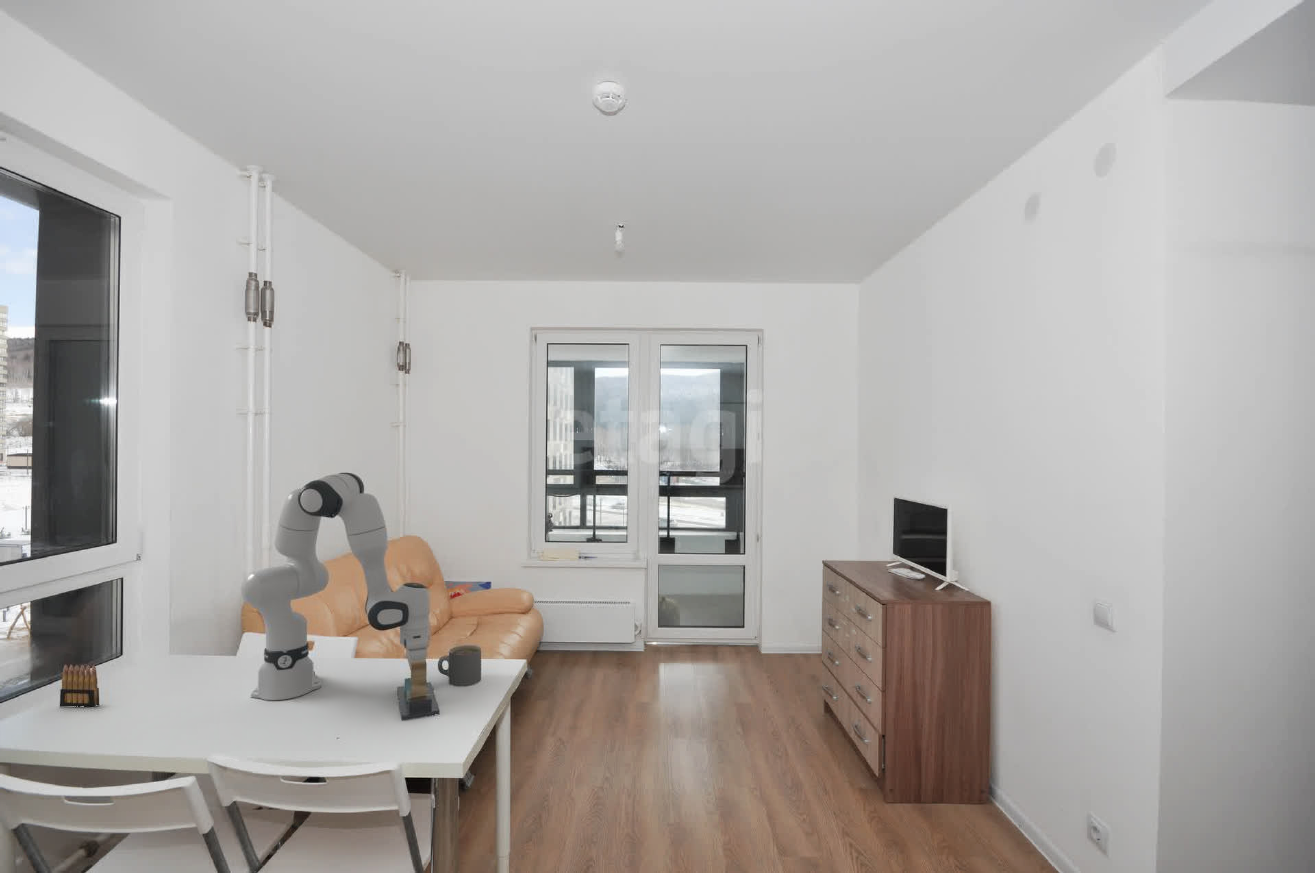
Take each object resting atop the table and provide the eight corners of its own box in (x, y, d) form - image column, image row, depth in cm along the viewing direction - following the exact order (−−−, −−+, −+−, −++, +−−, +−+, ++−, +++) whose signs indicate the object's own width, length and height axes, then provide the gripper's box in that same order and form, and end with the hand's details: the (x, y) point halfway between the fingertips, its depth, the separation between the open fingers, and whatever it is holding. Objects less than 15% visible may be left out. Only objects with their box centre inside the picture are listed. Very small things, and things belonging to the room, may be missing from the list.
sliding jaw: (404, 688, 202) (404, 678, 202) (425, 685, 205) (425, 675, 205) (407, 702, 191) (407, 692, 191) (429, 699, 194) (429, 688, 194)
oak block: (410, 702, 192) (410, 661, 192) (425, 700, 194) (425, 659, 194) (411, 707, 189) (411, 665, 189) (426, 705, 190) (426, 663, 190)
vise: (396, 690, 205) (396, 677, 205) (430, 685, 209) (430, 672, 209) (401, 720, 183) (401, 705, 183) (439, 714, 187) (439, 699, 187)
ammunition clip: (59, 706, 192) (59, 665, 193) (65, 704, 194) (65, 663, 194) (93, 707, 192) (93, 666, 192) (99, 705, 194) (99, 664, 194)
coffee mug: (485, 675, 218) (485, 645, 218) (474, 687, 208) (474, 655, 208) (446, 674, 219) (446, 644, 219) (433, 685, 209) (433, 653, 209)
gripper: (401, 628, 213) (401, 671, 213) (406, 646, 194) (406, 693, 194) (422, 625, 216) (422, 668, 215) (429, 643, 197) (429, 689, 197)
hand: (415, 680), depth 205 cm, fingers closed
